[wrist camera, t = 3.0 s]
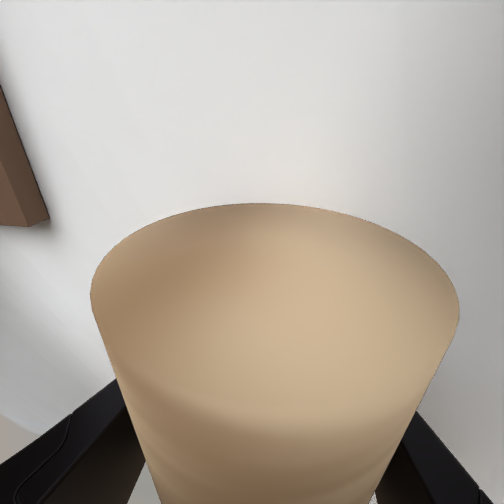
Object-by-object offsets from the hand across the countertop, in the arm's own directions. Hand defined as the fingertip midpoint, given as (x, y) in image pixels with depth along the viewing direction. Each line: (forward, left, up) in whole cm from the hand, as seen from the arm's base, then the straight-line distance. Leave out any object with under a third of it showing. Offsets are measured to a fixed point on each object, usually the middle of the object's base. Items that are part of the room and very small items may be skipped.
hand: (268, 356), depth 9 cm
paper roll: (0, 0, -1) cm, 1 cm away
